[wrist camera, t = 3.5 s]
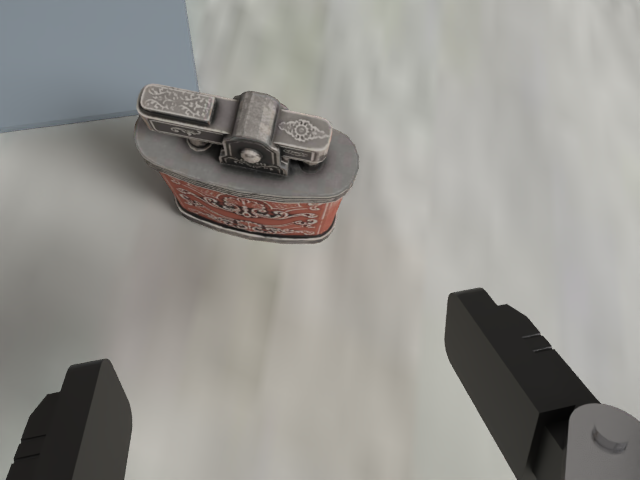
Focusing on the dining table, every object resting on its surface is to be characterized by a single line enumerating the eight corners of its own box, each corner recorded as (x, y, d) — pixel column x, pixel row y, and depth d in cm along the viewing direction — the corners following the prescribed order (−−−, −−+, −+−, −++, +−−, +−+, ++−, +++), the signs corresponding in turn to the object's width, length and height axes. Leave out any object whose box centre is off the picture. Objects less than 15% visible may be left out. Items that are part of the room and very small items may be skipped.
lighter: (340, 192, 25) (379, 89, 15) (329, 254, 24) (363, 188, 14) (186, 161, 25) (125, 37, 15) (170, 224, 24) (94, 135, 14)
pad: (172, -81, 28) (170, -89, 27) (201, 106, 25) (199, 101, 25) (-50, -62, 26) (-56, -70, 26) (-43, 138, 24) (-50, 133, 23)
